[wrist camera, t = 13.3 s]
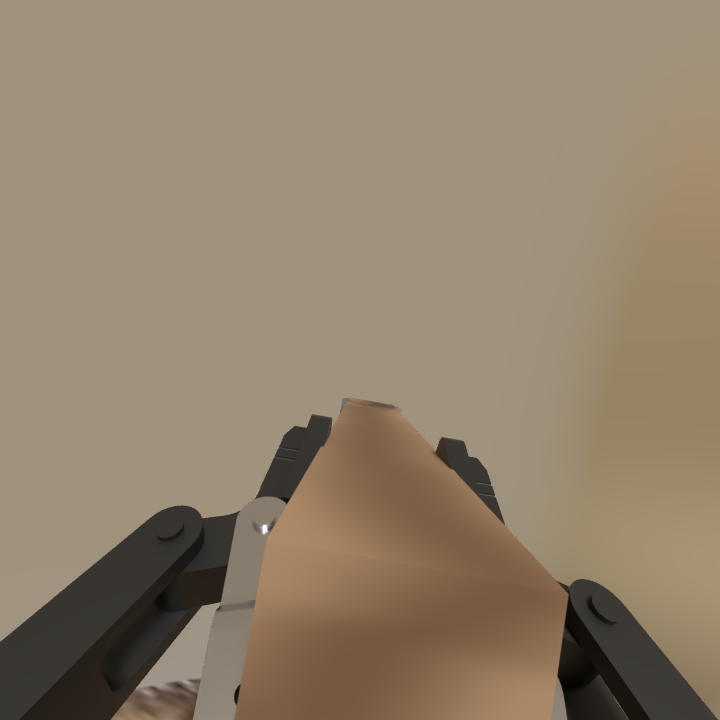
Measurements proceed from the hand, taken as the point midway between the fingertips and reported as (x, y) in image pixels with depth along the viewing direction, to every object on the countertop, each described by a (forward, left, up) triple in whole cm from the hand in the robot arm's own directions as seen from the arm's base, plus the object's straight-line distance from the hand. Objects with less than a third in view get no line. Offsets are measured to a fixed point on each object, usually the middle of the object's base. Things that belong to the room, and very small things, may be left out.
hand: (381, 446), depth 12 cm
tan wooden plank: (0, -5, -3) cm, 6 cm away
